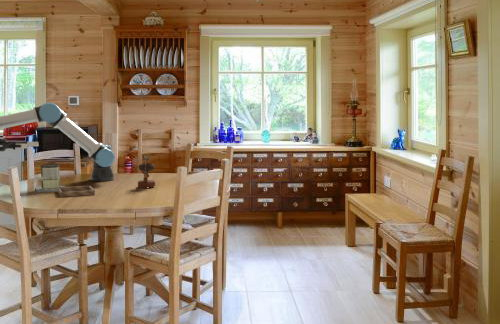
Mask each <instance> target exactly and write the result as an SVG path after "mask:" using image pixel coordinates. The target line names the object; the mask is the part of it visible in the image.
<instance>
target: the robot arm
mask: <svg viewBox="0 0 500 324" xmlns="http://www.w3.org/2000/svg"><path fill="white" fill-rule="evenodd" d="M35 122H36V123H43V122H45V123H47V124H48V125H49V126H50V127H52V128H53V129H58V130H59V131H60V132H62V133H63V134H64V135H66V136H67V137H68V138H69V139H71V141H73V142H74V143H75V144H76V145H78V146H79V147H80V148H82V149H83V151H85V152H87V153H88V157H89V158H90V159H92V171H91V174H90V181H92V182H93V181H94V182H107V181H108V182H110V181H113V180H115V175H114V172H113V169H112V165H113V163H114V161H115V159H116V155H115V152H114V151H113V150H112V148H111V147H112V146H111V144H104V143H102V142H98V141H97V140H95V139H94V138H92V137H91V136H90V135H89V134H88V133H87V132H86V131H84V129H82V128H81V127H79V125H77V124H76V123H74V122H73V121H72V120H71V119H70V118H68V115H67V113H66V112H65V111H64V110H62V109H61V108H60V107H59V106H58V105H57V104H56V103H54V102H53V103H52V102H46V103H43V104H42V105H39V106H36V107H33V108H32V109H29V110H25V111H20V112H16V113H11V114H6V115H1V116H0V130H3V129H7V128H12V127H16V126H21V125H22V126H23V125H25V124H30V123H35ZM28 147H39V141H29V140H26V141H10V140H8V141H7V140H6V139H5V138H0V152H6V149H11V150H13V151H14V150H16V149H28Z"/></svg>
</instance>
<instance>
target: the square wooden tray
mask: <svg viewBox="0 0 500 324" xmlns="http://www.w3.org/2000/svg"><path fill="white" fill-rule="evenodd" d="M57 193H58V195H59V196H60V198H66V197H67V198H68V197H69V198H70V197H82V196H95V195H96V191H95V189H94V188H93V187H92V186H91V185H82V186H81V185H78V186H65V187H58V192H57Z"/></svg>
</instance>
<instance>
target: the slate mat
mask: <svg viewBox="0 0 500 324" xmlns="http://www.w3.org/2000/svg"><path fill="white" fill-rule="evenodd" d="M60 187H66V186H65V185H60ZM35 191H36V193H37V194H38V193H39V194H40V193H53V192H54V193H55V192H57V193H58V189H56V190H42V186H40V187H39V186H37V187H35Z"/></svg>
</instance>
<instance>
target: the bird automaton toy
mask: <svg viewBox="0 0 500 324" xmlns="http://www.w3.org/2000/svg"><path fill="white" fill-rule="evenodd" d="M142 161H143V163H140V164H138V170H139V171H140V172H141V171H142V174H143V179H141V180H138V181H137V188H138V187H141V188H140V189H148V188H147V187H154V186H155V187H156V181H155V180H153V179H148V178H149V177H150V174H149V172H150V171H154V168H155V165H154V163H149V161H150V156H149V155H148V154H146V155H144V157H143V158H142ZM155 187H154V188H155Z"/></svg>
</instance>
